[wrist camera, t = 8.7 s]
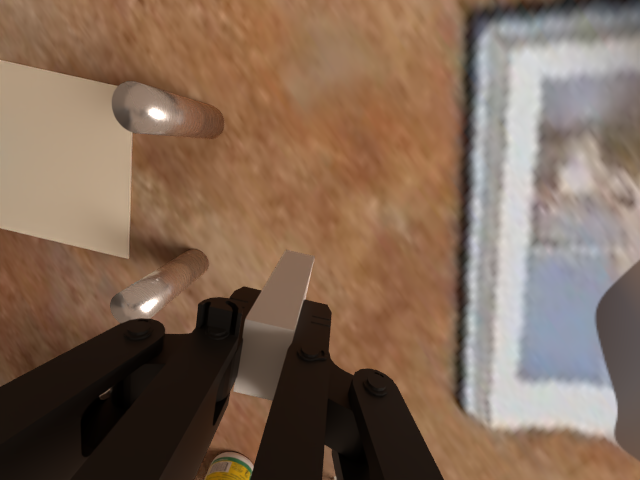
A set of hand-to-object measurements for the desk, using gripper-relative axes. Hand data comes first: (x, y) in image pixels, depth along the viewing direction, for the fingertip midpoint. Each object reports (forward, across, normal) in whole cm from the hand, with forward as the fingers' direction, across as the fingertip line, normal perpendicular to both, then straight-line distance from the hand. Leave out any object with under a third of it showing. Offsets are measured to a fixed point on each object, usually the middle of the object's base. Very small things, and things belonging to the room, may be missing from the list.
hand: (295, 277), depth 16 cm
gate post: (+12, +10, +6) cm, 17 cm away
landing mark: (+12, +24, 0) cm, 27 cm away
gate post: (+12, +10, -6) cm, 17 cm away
